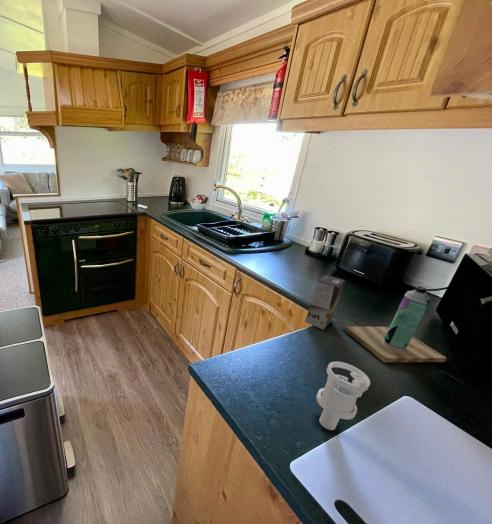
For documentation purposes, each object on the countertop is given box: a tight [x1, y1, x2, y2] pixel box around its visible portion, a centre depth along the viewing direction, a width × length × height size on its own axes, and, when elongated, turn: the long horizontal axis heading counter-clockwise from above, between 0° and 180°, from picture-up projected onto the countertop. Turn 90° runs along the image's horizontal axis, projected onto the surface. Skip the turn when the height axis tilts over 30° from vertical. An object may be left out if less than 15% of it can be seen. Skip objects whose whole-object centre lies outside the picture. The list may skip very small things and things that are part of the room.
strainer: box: [315, 361, 371, 431], centre depth 60 cm, size 7×7×15 cm
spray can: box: [383, 286, 432, 351], centre depth 86 cm, size 6×6×20 cm
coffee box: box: [304, 274, 346, 330], centre depth 99 cm, size 9×6×16 cm
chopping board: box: [343, 325, 448, 363], centre depth 92 cm, size 20×16×2 cm
